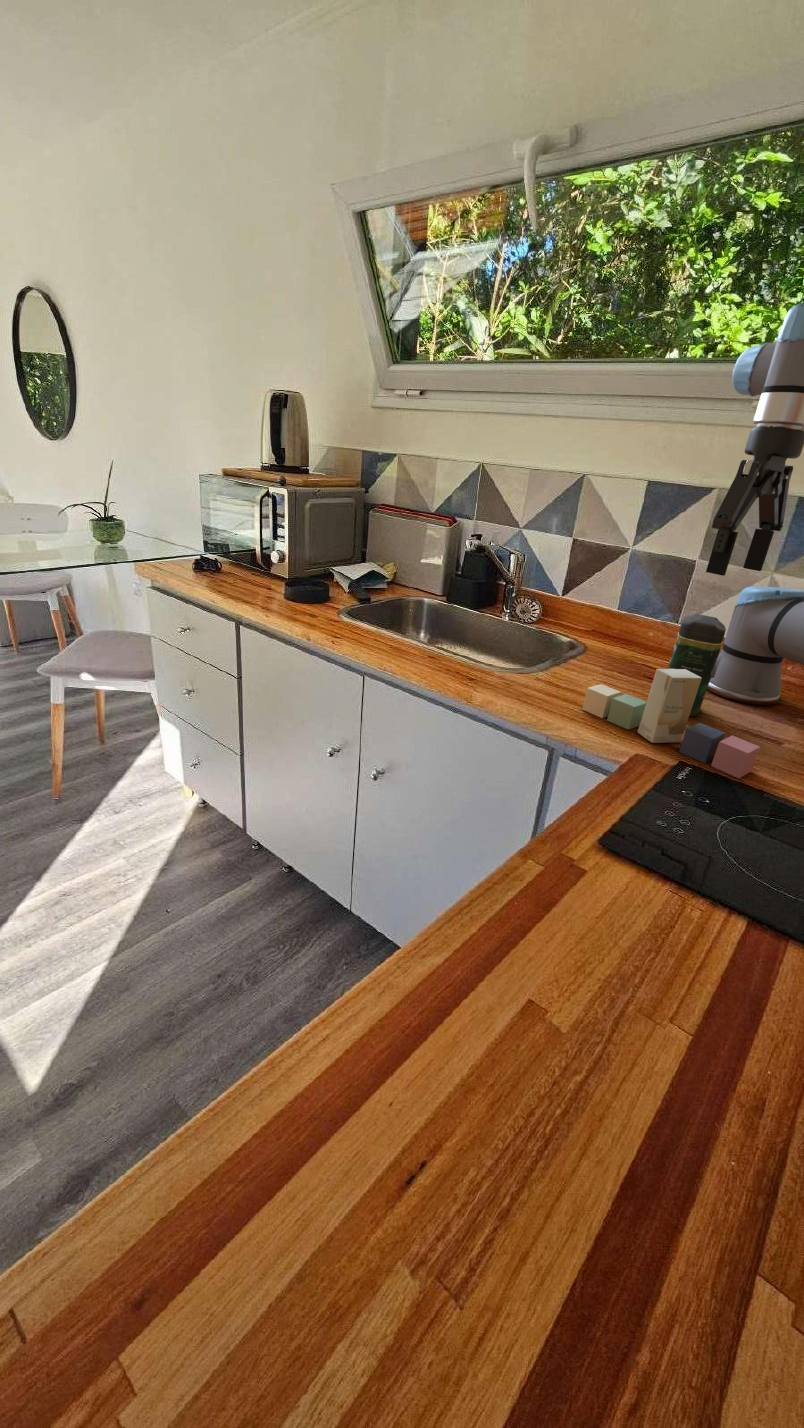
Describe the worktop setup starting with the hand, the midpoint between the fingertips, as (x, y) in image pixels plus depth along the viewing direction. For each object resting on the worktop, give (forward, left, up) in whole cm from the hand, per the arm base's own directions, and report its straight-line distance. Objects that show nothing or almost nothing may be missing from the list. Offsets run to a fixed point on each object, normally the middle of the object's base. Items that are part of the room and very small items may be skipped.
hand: (734, 571), depth 97 cm
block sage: (+8, -8, -29) cm, 31 cm away
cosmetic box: (+8, 0, -29) cm, 30 cm away
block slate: (+8, +6, -29) cm, 30 cm away
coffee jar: (-9, -6, -29) cm, 31 cm away
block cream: (+8, -13, -29) cm, 33 cm away
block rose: (+8, +12, -29) cm, 32 cm away
